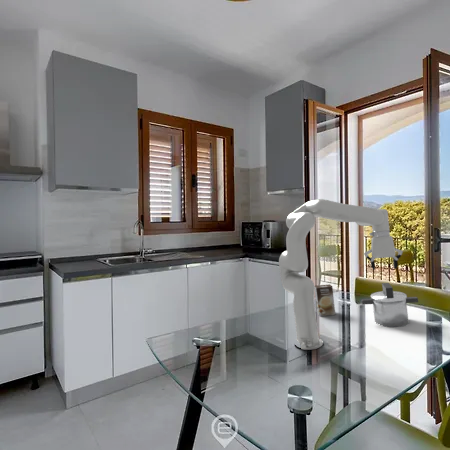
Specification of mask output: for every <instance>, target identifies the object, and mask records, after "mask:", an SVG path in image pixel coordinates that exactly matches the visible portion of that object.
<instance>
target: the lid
mask: <svg viewBox="0 0 450 450" xmlns="http://www.w3.org/2000/svg"><path fill="white" fill-rule="evenodd" d="M381 287H382V291H376V292H372V293H371V294H370V299H372V300H374V301H378V302H387V303H391V302H400V301H404V300H406V299H407V297H408V296H407V294H406V293H404V292H401V291H397V290H396V291H395V290H394V289H393V286H392V285H391V284H390V283H389V282H383V283H381Z"/></svg>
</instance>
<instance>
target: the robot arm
mask: <svg viewBox="0 0 450 450" xmlns="http://www.w3.org/2000/svg"><path fill="white" fill-rule="evenodd" d="M286 217H287V218H286V220H285V225H286V227H287V228H288V231H287V234H286V236H285V237H286V238H285V241H286V242H285V243H286V250H284V251H283V252H281V254H280V256H279V258H278V267H279V275H280V281H281V285H282V288H283V289H284V291H286V292H288V293H290V294H291V295H292V294H293V300H292V301H293V302H292V308H293V316H294V325H295V332H296V339H295V340H297V341H298V342H299V343H300V345H301V349H300V350H305V351H308V350H309V351H310V350H316V349H320V348H321V347H322V346H323V343H324V341H323V339H321V338H319V328H318V324H317V322H318V321H317V315H316V314H317V311H316V307H315V306H316V303H315V283H314V281H313V279H311V278H310V277H308V276H306V275H303V274H300V273H304V272H305V271H307V269H308V267H309V260H308V251H307V244H306V243H307V242H306V241H307V236H308V234H309V232H310V231H311V230H312V228H313V227H315V223H316V218H322V219H326V220H332V221H336V222H340V223H341V222H342V223H355V224H356V225H358V226H361V227H370V226H371V227H372V232H369V236H371V244H370V249H369V250H366V251H365V252H363V254H364V256H365V258H366V259H367V260H368V261H370V267H371V269H372V270H373V271H376V265H375V260H376V259H386V258H387V259H388V258H392V261H393V268H394V269H395V270H397V267H398V266H399V265H398V261H399V259H401V257H402V255H403V252H404V251H403V250H402V249H399V248H396V247H395V244H394V239H393V236H391V232H390V231H391V230H390V224H389V213H388V210H387V208H381V209H377V208H372V207H367V206H361V205H354V204H347V203H342V202H337V201H333V200H329V199H325V198H320V199H314V200H313V199H312V200H308V201H307V202H305V203H304V204H302V205H301V206H300V207H298V208H296V209H294V211H293V212H291V213H289V214H288V216H286ZM396 252H398V253H397V255H396ZM369 254H371V257H370V256H369Z"/></svg>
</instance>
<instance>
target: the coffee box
mask: <svg viewBox="0 0 450 450" xmlns="http://www.w3.org/2000/svg"><path fill="white" fill-rule="evenodd" d="M314 287H315V291H314V298H315V306H316V314H317V315H318V316H319V317H322V316H323V317H324V316H325V317H326V316H335V315H336V309H335V308H336V307H335V299H334V298H335V297H334V289H333V286H332V285H331V284H318V285H314Z"/></svg>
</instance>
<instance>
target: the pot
mask: <svg viewBox="0 0 450 450" xmlns="http://www.w3.org/2000/svg"><path fill="white" fill-rule="evenodd" d="M411 303H413V304H414V303H419V298H418V297H417V296H407V299H406V300H404V301H400V302H391V303H387V302H378V301H374V300H372V299H371V298H362V299H361V304H362V305H372V309H373V316H374V322H376V323H375V324H377V323H378V324H380V325H379V326H381V325H383V326H382V327H386V326H387V327H389V328H397V327H398V328H399V327H406V326H407V325H408V324H409V321H410V320H409V313H408V305H407V304H411ZM378 324H377V325H378Z"/></svg>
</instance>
